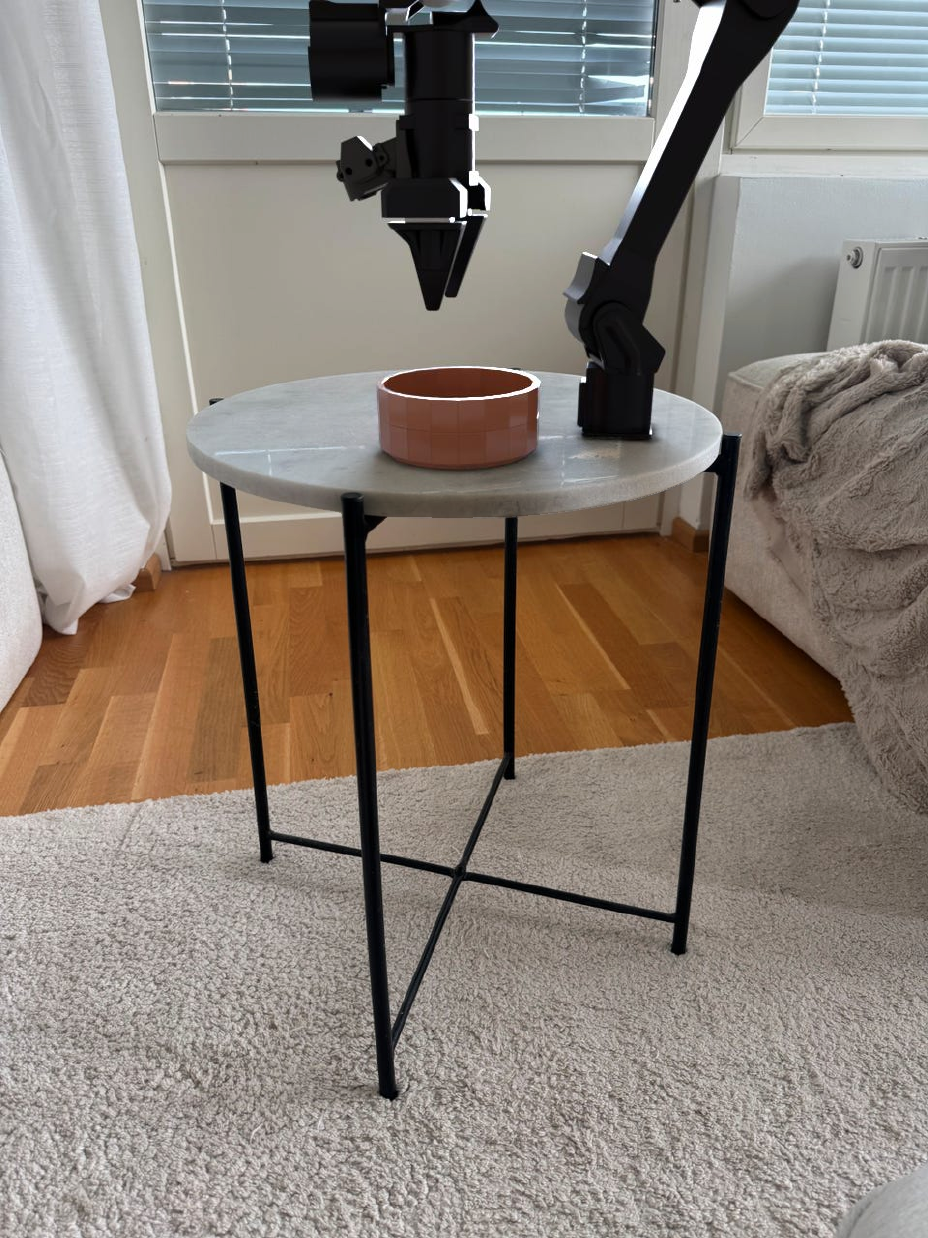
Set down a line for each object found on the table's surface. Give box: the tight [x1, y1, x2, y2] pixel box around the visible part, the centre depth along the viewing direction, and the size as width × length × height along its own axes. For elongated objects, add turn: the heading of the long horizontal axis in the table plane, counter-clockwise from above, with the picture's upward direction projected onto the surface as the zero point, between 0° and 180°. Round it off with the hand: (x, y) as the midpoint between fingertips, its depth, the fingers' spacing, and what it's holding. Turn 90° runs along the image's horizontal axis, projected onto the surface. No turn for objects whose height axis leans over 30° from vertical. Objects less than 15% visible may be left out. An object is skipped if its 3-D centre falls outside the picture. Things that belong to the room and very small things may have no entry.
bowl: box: [375, 365, 541, 471], centre depth 81 cm, size 14×14×6 cm
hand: (442, 303), depth 81 cm, fingers open, 9 cm apart
